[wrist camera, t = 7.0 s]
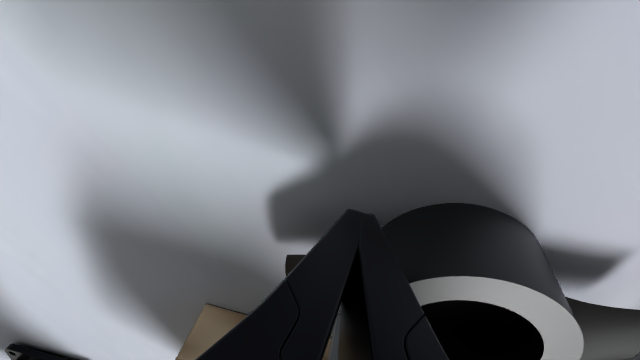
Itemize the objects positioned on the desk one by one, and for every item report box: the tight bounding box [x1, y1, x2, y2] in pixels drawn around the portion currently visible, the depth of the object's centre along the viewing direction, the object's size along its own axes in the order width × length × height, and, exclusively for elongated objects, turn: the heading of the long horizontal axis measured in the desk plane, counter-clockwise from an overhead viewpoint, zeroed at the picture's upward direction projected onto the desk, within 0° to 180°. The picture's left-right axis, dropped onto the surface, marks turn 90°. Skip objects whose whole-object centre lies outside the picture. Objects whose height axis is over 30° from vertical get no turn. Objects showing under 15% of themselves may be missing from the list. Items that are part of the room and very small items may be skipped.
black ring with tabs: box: [285, 203, 640, 360], centre depth 11 cm, size 8×10×3 cm
